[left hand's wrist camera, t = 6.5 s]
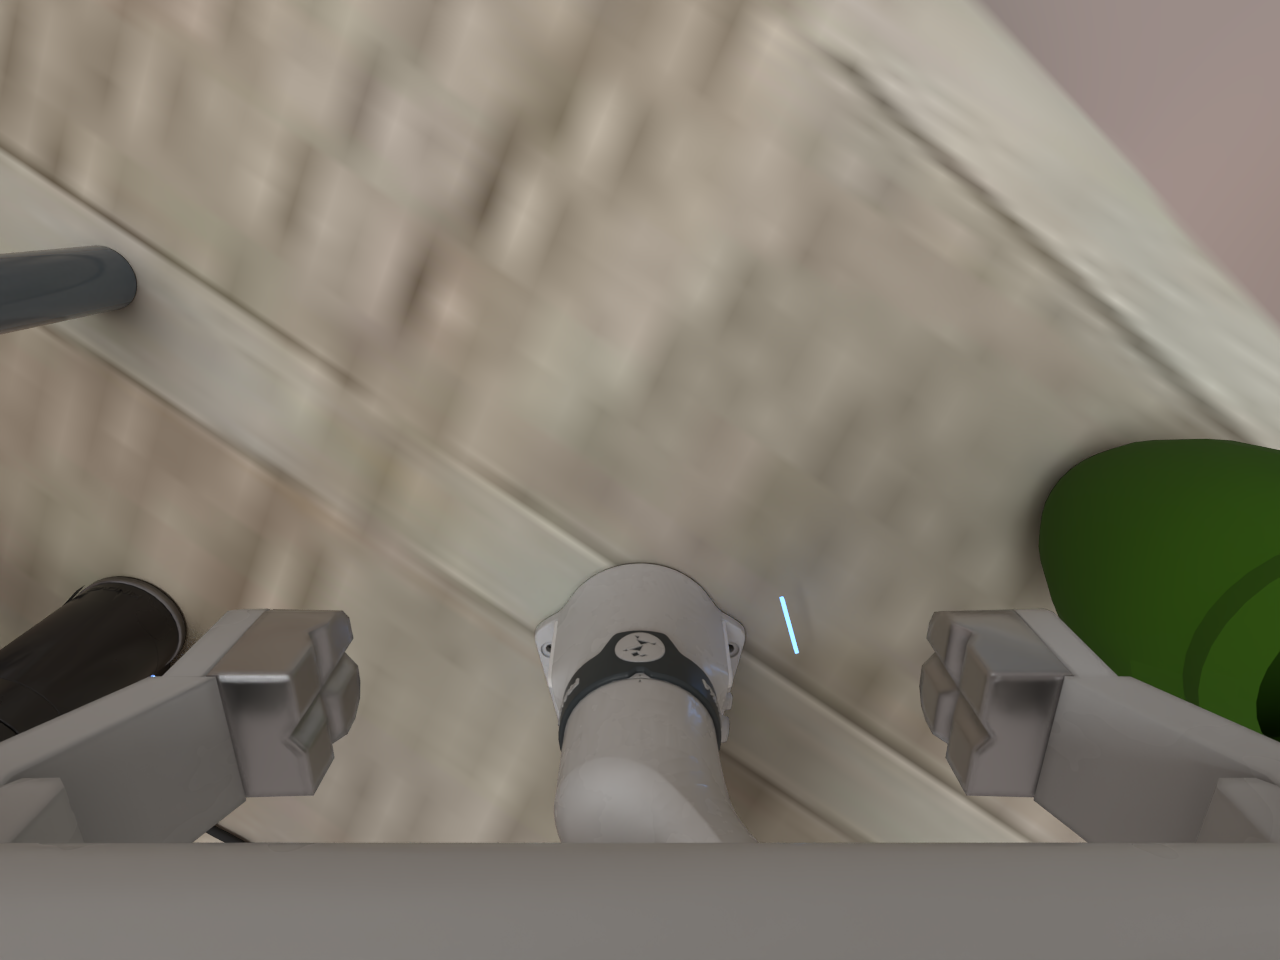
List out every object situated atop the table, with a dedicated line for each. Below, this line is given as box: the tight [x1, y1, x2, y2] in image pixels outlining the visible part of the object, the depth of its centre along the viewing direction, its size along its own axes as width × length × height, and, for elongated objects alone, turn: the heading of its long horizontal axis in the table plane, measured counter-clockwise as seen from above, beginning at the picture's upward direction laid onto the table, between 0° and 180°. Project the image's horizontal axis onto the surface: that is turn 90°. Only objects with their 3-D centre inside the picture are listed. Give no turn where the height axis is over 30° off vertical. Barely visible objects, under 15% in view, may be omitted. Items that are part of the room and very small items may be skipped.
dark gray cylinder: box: [0, 246, 136, 335], centre depth 47 cm, size 5×5×18 cm
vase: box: [1039, 439, 1280, 742], centre depth 50 cm, size 20×20×24 cm
